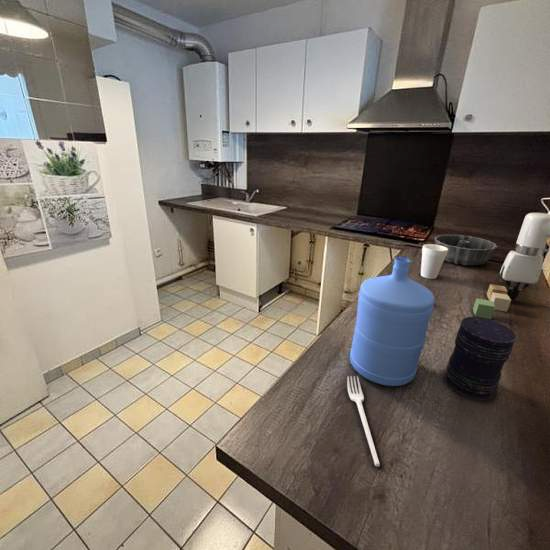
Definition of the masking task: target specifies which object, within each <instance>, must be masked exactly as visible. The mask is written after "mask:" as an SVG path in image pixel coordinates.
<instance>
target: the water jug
mask: <svg viewBox="0 0 550 550" xmlns="http://www.w3.org/2000/svg"><path fill="white" fill-rule="evenodd" d="M393 261H394V264H393V265H392V273H391V274H387V275H380V276H374V277H369V278H368V279H365V280H363V282H362V283H361V284H360V289H359V292H358V298H357V308H356V309H357V310H356V321H355V326H354V333H353V335H352V341H351V343H352V344H351V348H350V353H349V360H350V363H351V366H352V367H353V369H354V370H355V372H357V373H358V374H359V375H360V376H362V378H364V379H366V380H368V381H370V382H372V383H374V384H378V385H382V386H386V387H399V386H404V385H407V384H409V383H411V382H412V381H413V380H414V379H415V377H416V376H417V371H418V366H419V361H420V358H421V355H422V354H421V353H422V350H423V348H424V345H425V341H426V334H427V330H428V327H429V323H430V319H431V317H432V314H433V310H434V304H435V296H434V294H433V292H432V291H431V290H430V289H429V288H428V287H426V286H424V285H422V283H421V284H420V283H418V282H417V281H415V280H413V279H411V278H409V277H408V274H409V271H410V263H411V259H409V258H407V257H403V256H402V257H401V256H397V257H394V260H393Z"/></svg>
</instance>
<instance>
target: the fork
mask: <svg viewBox="0 0 550 550" xmlns="http://www.w3.org/2000/svg"><path fill="white" fill-rule="evenodd" d="M356 381H357V382H356ZM347 393H348V397H349V399H350V400H351V401H352V402H355V404H356V407H357V410H358V413H359V416H360V419H361V424H362V426H363V430H364V434H365V437H366V439H367V444H368V446H369V449H370V450H369V451H370V453H371V456H372V460H373V464H374V466H375V467H377V468H379V467H380V466H381V465H380V461H379V457H378V454H377V449H376V447H375V443H374V440H373V437H372V434H371V429H370V426H369V424H368V419H367V417H366V413H365V409H364V406H363V402H364V401H365V397H364V393H363V390H362V386H361V382H360V378H359V375H357V376H355V375H353V377H352V375H350V376H349V375H347Z"/></svg>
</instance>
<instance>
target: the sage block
mask: <svg viewBox="0 0 550 550" xmlns="http://www.w3.org/2000/svg"><path fill="white" fill-rule="evenodd" d="M495 311H496V310H495V305H494V303H493V301H490V300H489V299H484V298H478V297H477V298H475V302H474V305H473V308H472V312H473V315H474V317H481V318H486V319H490V320H492V318H493V315H494V312H495Z"/></svg>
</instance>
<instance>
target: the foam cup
mask: <svg viewBox="0 0 550 550" xmlns="http://www.w3.org/2000/svg"><path fill="white" fill-rule="evenodd" d="M447 253H448V248H446V247H444V246H440V245H435V243H434V244H433V243H426V244H423V245H422V248H421V263H420V276H421V277H422V278H425V279H430V280H434V279H437V278H438V275H439V274H440V271H441V268H442V266H443V264H444V262H445V261H444V259H445V257H446V255H447Z"/></svg>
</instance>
